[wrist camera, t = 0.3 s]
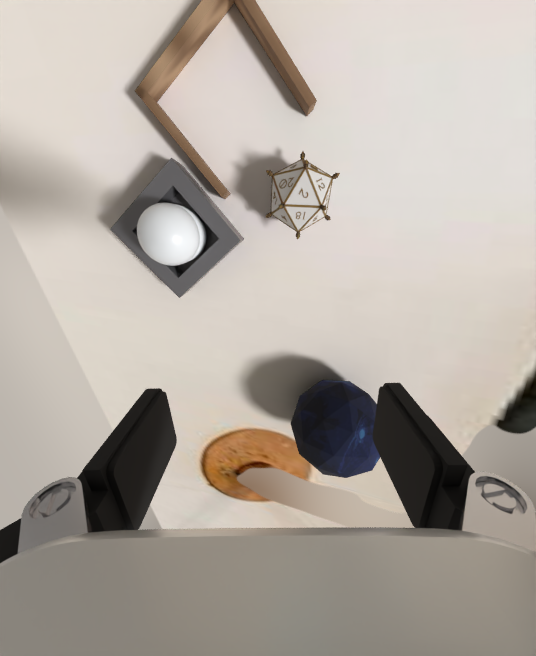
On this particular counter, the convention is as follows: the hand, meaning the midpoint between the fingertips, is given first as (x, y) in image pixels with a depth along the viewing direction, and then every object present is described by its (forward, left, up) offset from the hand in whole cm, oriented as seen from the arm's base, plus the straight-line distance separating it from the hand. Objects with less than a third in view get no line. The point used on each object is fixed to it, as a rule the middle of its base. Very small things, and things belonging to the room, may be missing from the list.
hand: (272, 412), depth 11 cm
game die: (-10, -6, -30) cm, 32 cm away
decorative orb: (+6, +24, -30) cm, 39 cm away
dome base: (+5, -13, -30) cm, 33 cm away
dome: (+5, -13, -27) cm, 31 cm away
